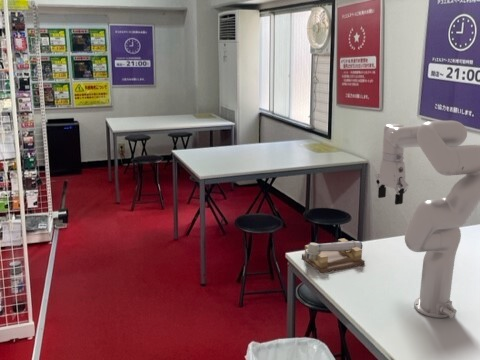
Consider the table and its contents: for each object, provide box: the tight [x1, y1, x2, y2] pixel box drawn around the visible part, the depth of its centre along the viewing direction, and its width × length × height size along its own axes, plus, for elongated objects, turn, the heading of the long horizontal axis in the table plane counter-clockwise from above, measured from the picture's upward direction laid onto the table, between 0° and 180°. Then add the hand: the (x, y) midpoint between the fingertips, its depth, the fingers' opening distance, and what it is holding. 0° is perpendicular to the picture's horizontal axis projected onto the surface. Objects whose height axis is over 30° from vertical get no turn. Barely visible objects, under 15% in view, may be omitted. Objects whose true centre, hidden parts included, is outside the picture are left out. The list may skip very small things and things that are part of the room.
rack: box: [301, 238, 366, 274], centre depth 209 cm, size 16×20×6 cm
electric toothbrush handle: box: [304, 240, 364, 259], centre depth 208 cm, size 5×7×25 cm
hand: (390, 200), depth 196 cm, fingers open, 9 cm apart
